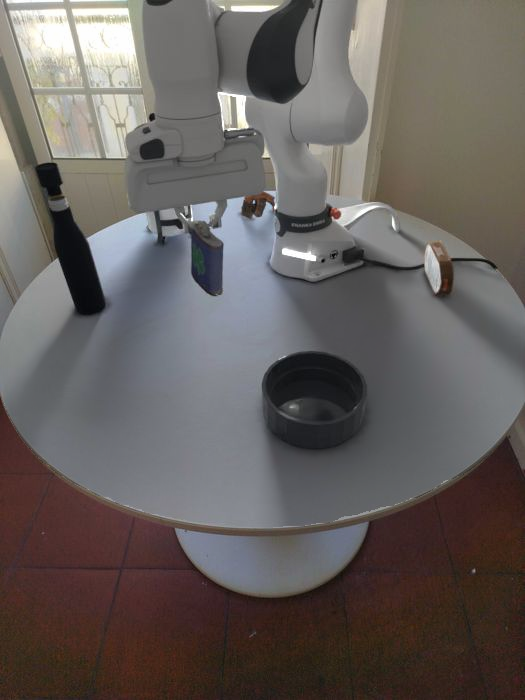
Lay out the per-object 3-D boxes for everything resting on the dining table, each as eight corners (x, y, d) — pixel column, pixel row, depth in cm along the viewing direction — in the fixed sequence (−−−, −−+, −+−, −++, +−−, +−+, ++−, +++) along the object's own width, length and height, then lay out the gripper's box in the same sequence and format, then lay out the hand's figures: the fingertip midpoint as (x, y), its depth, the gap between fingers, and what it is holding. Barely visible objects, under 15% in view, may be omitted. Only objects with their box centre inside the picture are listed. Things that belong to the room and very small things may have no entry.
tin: (449, 303, 99) (459, 268, 93) (434, 302, 99) (443, 268, 94) (432, 266, 110) (440, 233, 105) (419, 266, 110) (426, 233, 105)
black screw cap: (334, 367, 84) (337, 341, 81) (381, 432, 73) (387, 406, 69) (249, 390, 81) (248, 364, 77) (284, 463, 69) (285, 437, 65)
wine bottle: (98, 316, 99) (53, 173, 79) (70, 313, 100) (19, 171, 80) (111, 299, 103) (72, 160, 84) (85, 296, 104) (40, 159, 85)
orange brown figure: (236, 211, 138) (246, 183, 136) (264, 222, 142) (275, 196, 139) (242, 217, 128) (253, 187, 125) (273, 229, 131) (285, 201, 128)
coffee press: (131, 242, 124) (103, 120, 105) (163, 217, 135) (143, 103, 116) (188, 253, 119) (170, 126, 99) (217, 226, 130) (205, 108, 110)
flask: (225, 295, 75) (226, 233, 68) (208, 299, 73) (208, 236, 67) (202, 267, 81) (201, 207, 74) (186, 270, 79) (183, 210, 72)
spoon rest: (312, 242, 121) (313, 216, 116) (306, 223, 130) (307, 198, 125) (403, 238, 121) (408, 211, 117) (391, 219, 130) (395, 194, 126)
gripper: (256, 119, 68) (259, 210, 77) (113, 137, 63) (134, 231, 72) (271, 131, 63) (272, 226, 72) (118, 150, 59) (139, 250, 68)
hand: (202, 229), depth 72 cm, fingers closed on flask, 3 cm apart
